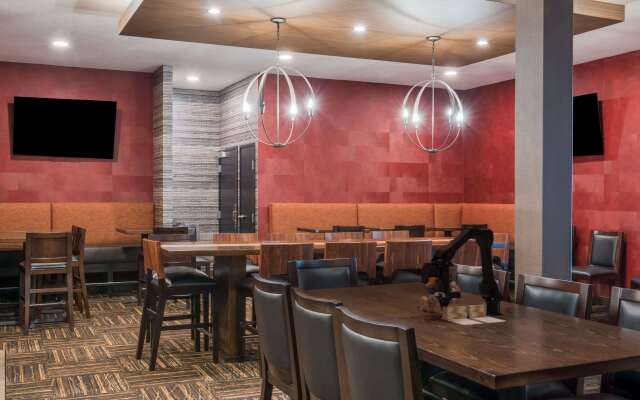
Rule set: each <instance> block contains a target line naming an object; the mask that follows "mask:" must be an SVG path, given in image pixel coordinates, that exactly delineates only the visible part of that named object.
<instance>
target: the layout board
mask: <svg viewBox="0 0 640 400" xmlns="http://www.w3.org/2000/svg"><path fill="white" fill-rule="evenodd" d="M440 319H441V320H443V317H441V318H440ZM447 320H448V321H447ZM447 320H445V319H444V321H447V322H450V321H451V323H455V324H457V325H461V326H472V325H474V326H475V325H482V324H484V325H485V324H493V323H495V324H496V323H506V320H504V319H503V320H502V319H499V318H496V317H491V316H487V315H486V317H474V318H458V319H447Z"/></svg>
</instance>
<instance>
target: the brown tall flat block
mask: <svg viewBox="0 0 640 400" xmlns="http://www.w3.org/2000/svg"><path fill="white" fill-rule="evenodd" d="M469 306H470V305H469V304H465V305H462V306H447V307H443V312H442V318H443V319H445V320H444V321H447V319H458V318H469ZM443 319H442V320H443Z"/></svg>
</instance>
